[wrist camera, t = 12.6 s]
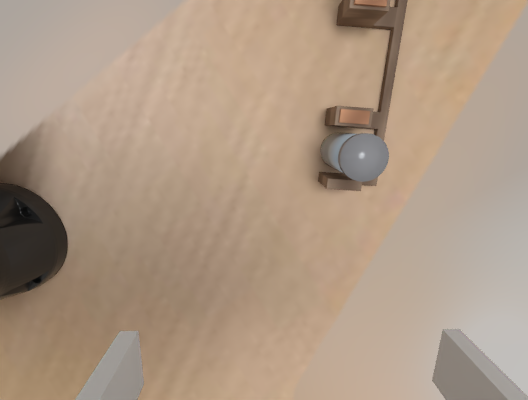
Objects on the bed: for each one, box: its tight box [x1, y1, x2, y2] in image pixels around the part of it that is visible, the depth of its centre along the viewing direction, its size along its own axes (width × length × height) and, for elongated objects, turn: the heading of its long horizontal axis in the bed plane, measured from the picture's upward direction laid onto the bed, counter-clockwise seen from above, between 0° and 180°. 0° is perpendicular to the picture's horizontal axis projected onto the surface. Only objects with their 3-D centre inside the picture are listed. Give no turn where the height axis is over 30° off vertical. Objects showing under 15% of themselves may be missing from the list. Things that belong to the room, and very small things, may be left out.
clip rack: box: [318, 0, 407, 191], centre depth 32 cm, size 8×28×5 cm, turn 176°
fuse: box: [320, 133, 389, 182], centre depth 32 cm, size 5×5×10 cm
